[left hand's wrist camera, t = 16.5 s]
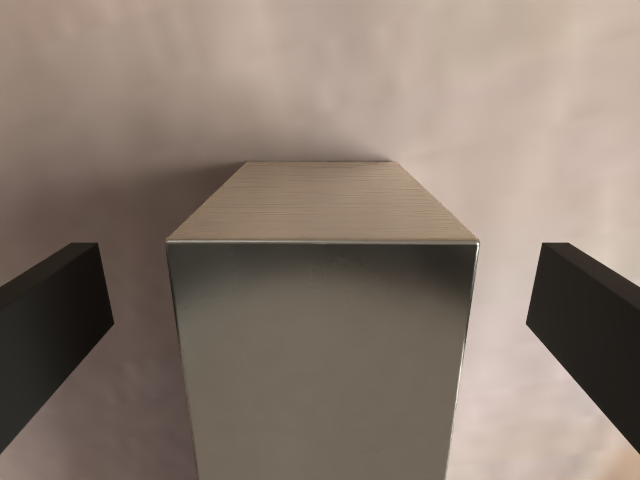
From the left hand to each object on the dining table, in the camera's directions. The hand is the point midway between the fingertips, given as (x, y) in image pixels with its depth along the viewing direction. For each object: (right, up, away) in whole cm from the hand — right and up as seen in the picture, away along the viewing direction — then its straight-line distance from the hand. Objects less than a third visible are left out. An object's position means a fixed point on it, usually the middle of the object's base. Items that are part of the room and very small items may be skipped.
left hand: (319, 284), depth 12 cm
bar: (0, -7, +6) cm, 9 cm away
